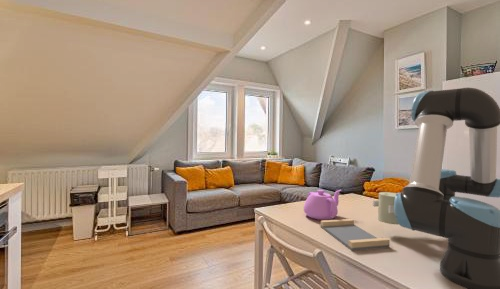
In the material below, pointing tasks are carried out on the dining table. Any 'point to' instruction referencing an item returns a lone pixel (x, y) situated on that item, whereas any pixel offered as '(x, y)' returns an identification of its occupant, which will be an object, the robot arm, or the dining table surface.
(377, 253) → the dining table surface
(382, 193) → the can
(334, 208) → the teapot
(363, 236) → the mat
